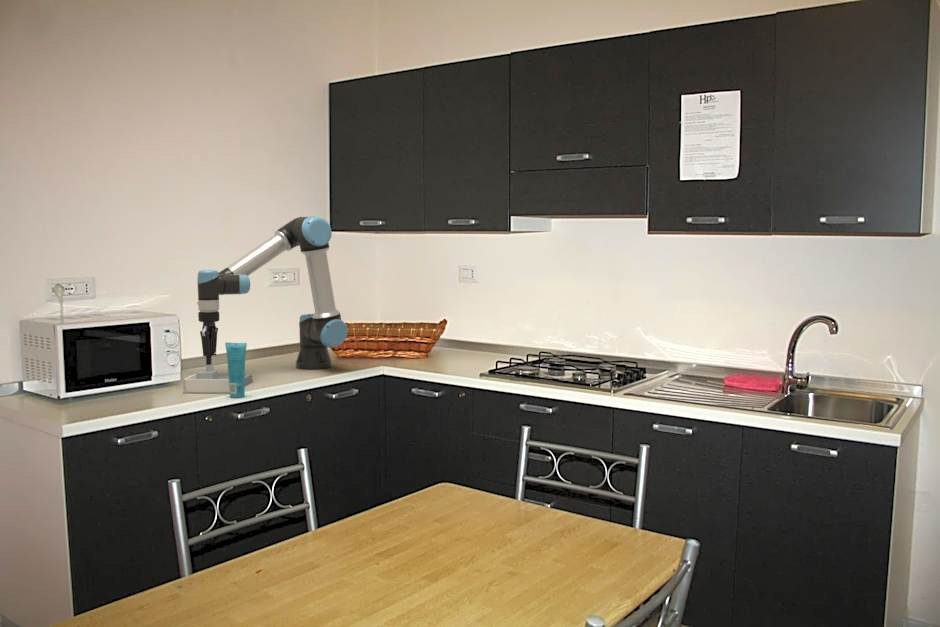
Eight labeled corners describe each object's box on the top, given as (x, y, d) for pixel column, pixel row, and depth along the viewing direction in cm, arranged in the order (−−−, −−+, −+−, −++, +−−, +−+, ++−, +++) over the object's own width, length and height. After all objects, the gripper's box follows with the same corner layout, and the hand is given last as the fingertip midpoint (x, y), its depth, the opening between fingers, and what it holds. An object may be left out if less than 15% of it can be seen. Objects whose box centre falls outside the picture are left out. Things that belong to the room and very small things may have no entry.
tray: (242, 388, 302) (241, 374, 301) (233, 393, 291) (232, 379, 291) (194, 387, 302) (193, 374, 302) (183, 393, 292) (183, 379, 291)
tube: (249, 395, 289) (247, 341, 287) (246, 397, 284) (245, 343, 282) (227, 395, 288) (226, 341, 286) (224, 398, 284) (223, 343, 282)
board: (252, 381, 315) (252, 374, 315) (242, 388, 302) (242, 380, 302) (206, 381, 315) (206, 373, 315) (194, 387, 302) (194, 379, 302)
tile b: (217, 376, 308) (217, 370, 308) (212, 379, 302) (212, 373, 302) (202, 376, 308) (202, 370, 308) (196, 379, 302) (196, 372, 302)
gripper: (205, 309, 313) (206, 369, 315) (192, 312, 300) (194, 375, 302) (224, 309, 313) (225, 370, 315) (212, 312, 300) (213, 375, 302)
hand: (210, 372), depth 309 cm, fingers closed
